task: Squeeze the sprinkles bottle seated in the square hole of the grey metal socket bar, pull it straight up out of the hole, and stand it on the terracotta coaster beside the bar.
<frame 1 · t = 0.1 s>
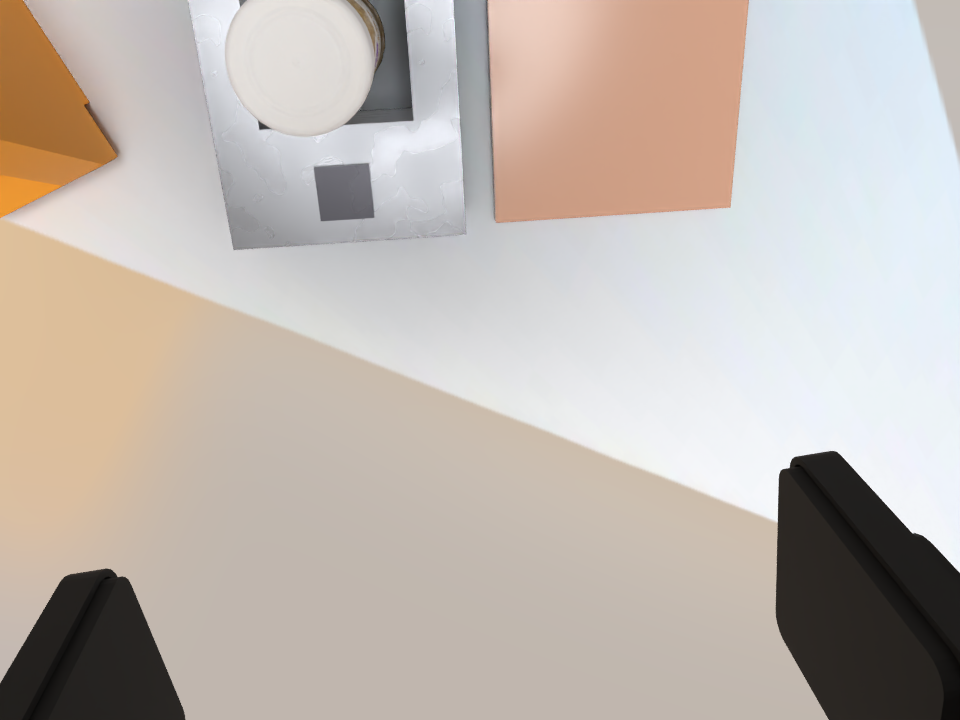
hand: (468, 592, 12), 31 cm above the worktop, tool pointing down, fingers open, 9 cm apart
coaster: (614, 89, 39), on the worktop
sprinkles bottle: (335, 36, 37), resting in socket bar
socket bar: (335, 37, 37), on the worktop
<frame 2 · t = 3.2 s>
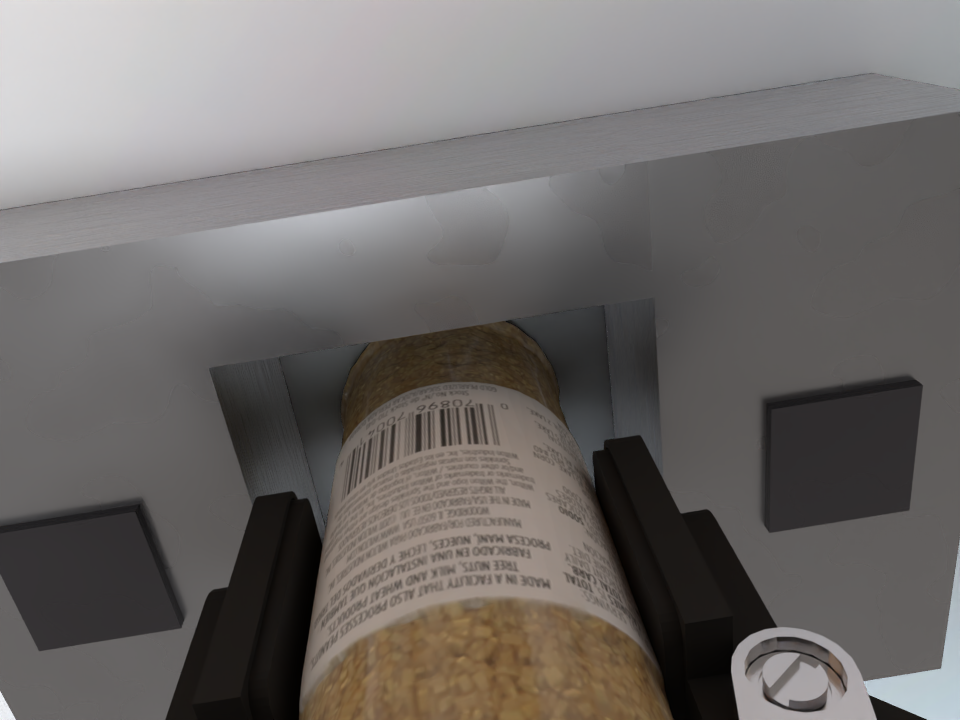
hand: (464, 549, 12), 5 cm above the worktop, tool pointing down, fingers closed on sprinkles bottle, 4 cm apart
sprinkles bottle: (452, 397, 17), resting in socket bar, touching gripper
socket bar: (453, 401, 17), on the worktop
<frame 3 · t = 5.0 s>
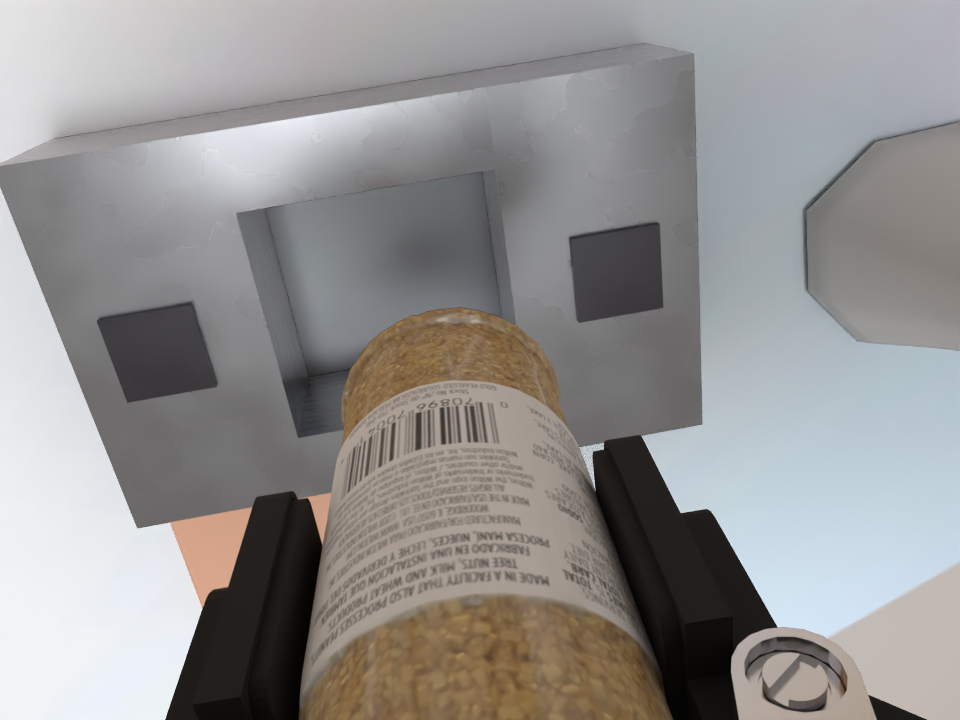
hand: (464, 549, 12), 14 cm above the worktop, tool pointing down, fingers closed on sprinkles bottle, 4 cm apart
coaster: (375, 600, 31), on the worktop
sprinkles bottle: (453, 396, 17), point 9 cm above the worktop, touching gripper
flask: (899, 233, 27), on the worktop
socket bar: (389, 265, 25), on the worktop
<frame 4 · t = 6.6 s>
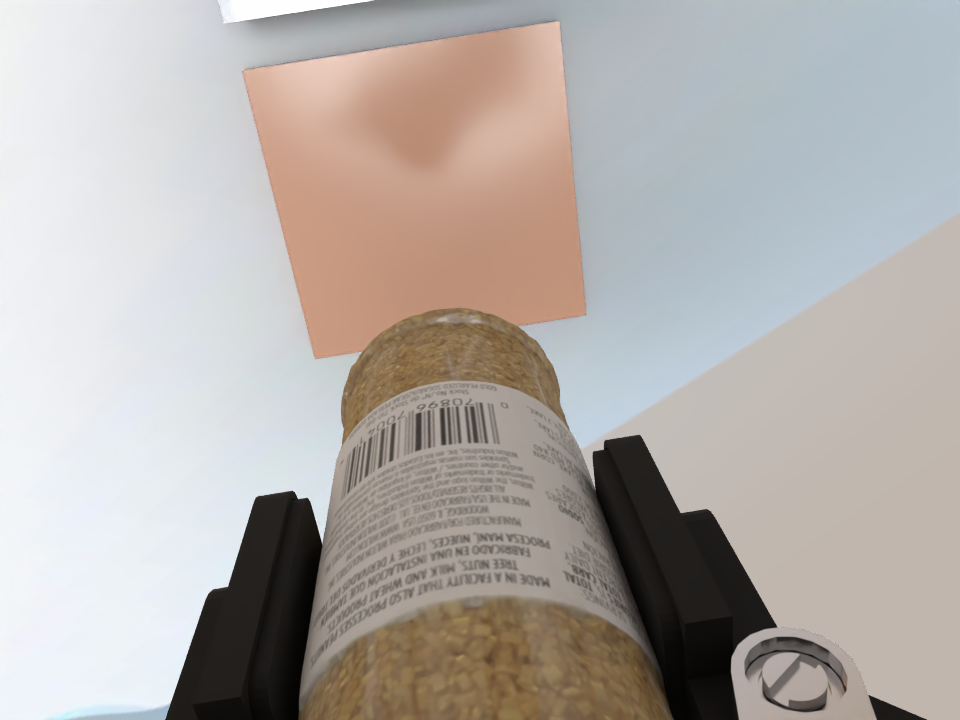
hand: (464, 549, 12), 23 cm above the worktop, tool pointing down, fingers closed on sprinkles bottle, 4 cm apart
coaster: (427, 199, 33), on the worktop
sprinkles bottle: (453, 396, 17), point 18 cm above the worktop, touching gripper
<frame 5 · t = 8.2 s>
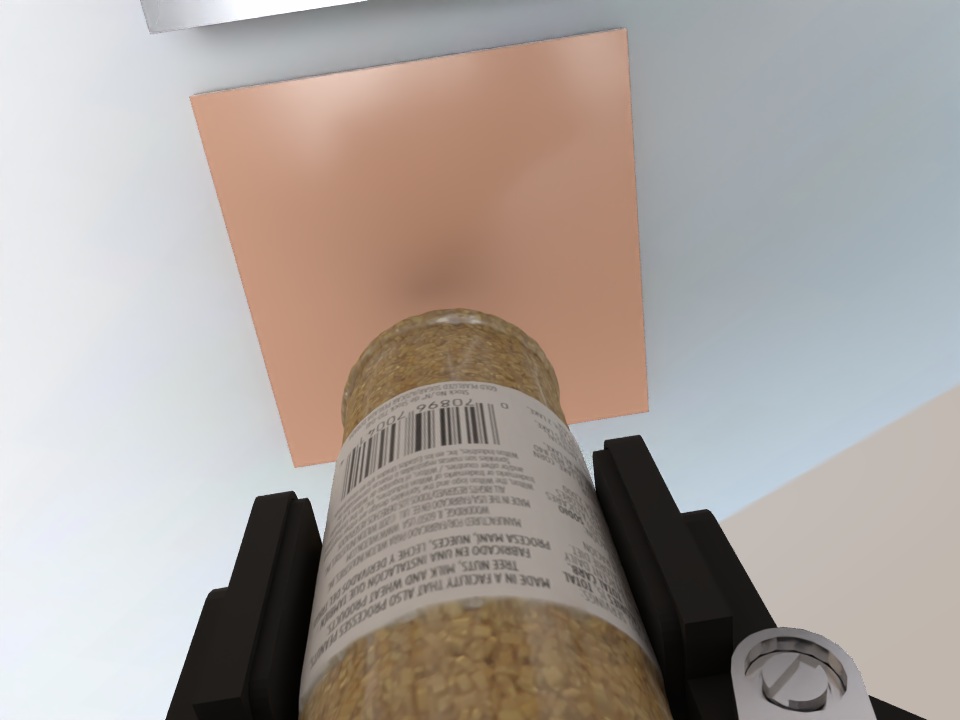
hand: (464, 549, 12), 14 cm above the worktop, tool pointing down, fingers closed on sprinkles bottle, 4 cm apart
coaster: (442, 264, 25), on the worktop
sprinkles bottle: (453, 396, 17), point 9 cm above the worktop, touching gripper
when the fingers open (7 cm above the worktop, at t = 9.9 s): sprinkles bottle drops 1 cm, resting on coaster.
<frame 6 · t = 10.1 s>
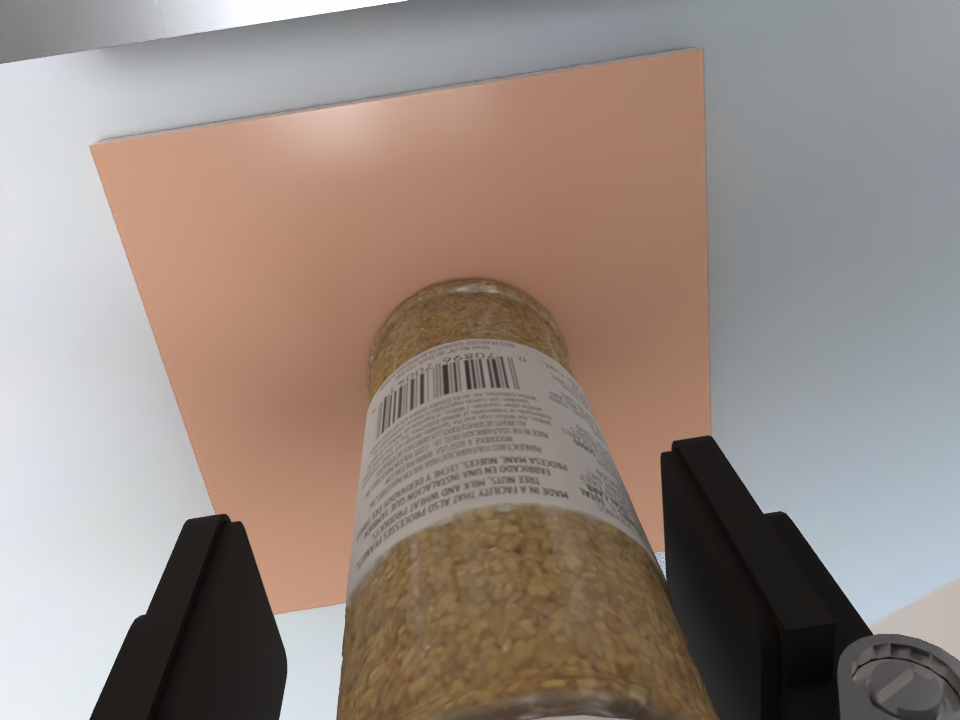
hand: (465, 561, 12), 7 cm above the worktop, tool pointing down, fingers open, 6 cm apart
coaster: (445, 361, 19), on the worktop
sprinkles bottle: (469, 364, 18), resting on coaster
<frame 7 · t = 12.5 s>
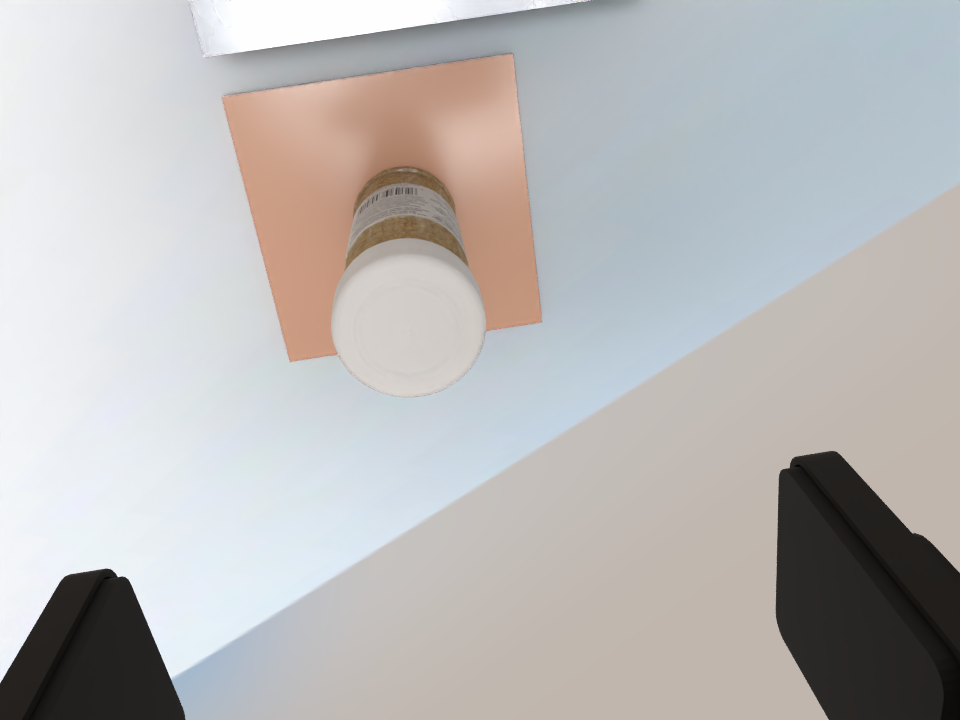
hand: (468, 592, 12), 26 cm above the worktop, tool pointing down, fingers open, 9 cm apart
coaster: (394, 214, 36), on the worktop
sprinkles bottle: (406, 214, 36), resting on coaster
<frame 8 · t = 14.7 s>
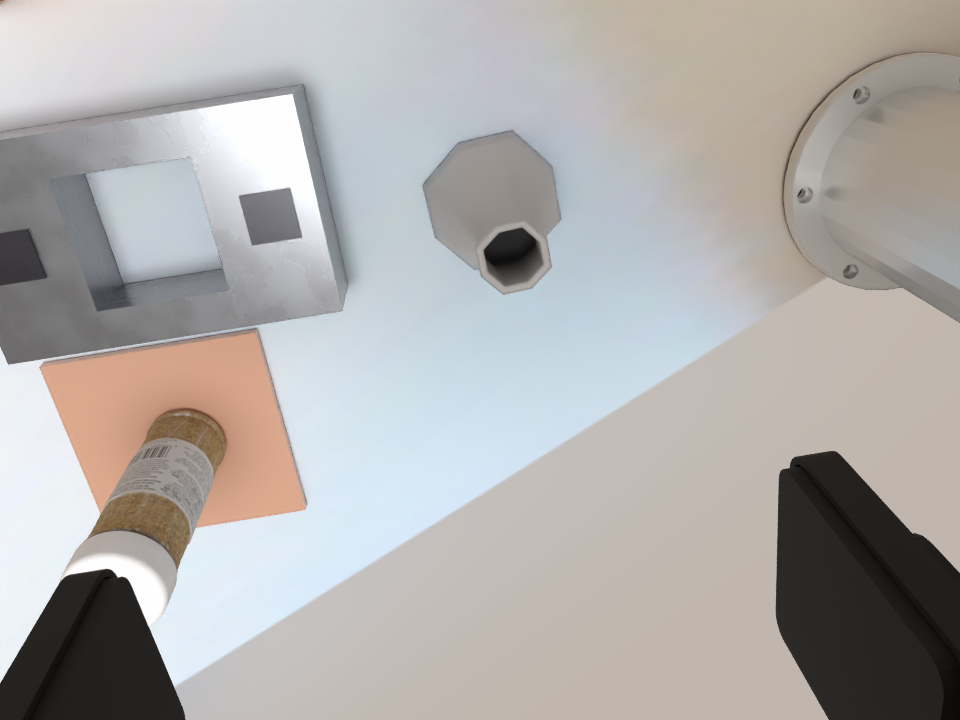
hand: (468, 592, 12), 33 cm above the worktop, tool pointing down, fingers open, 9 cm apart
coaster: (182, 437, 47), on the worktop
sprinkles bottle: (189, 438, 47), resting on coaster
flask: (492, 200, 43), on the worktop
socket bar: (165, 215, 42), on the worktop
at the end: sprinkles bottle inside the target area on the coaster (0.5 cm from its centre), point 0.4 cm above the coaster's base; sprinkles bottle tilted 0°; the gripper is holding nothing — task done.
